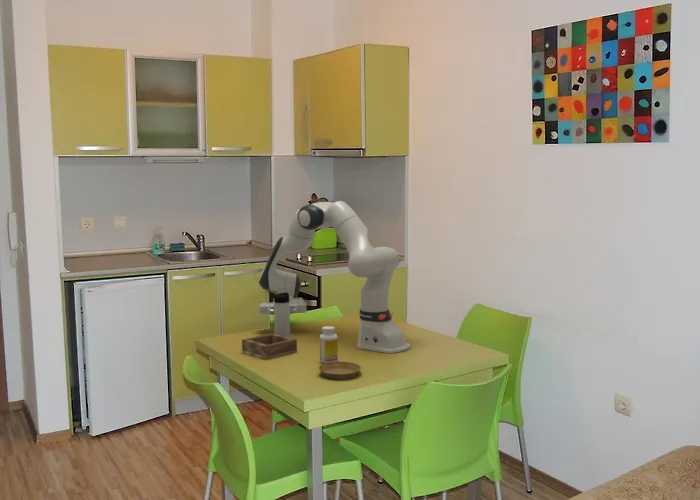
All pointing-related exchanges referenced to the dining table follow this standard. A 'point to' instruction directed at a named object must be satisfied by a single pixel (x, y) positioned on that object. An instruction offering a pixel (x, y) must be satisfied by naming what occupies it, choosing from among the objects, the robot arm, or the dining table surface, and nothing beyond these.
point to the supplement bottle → (328, 345)
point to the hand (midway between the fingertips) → (282, 311)
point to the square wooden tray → (269, 346)
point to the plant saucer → (339, 370)
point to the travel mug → (282, 314)
